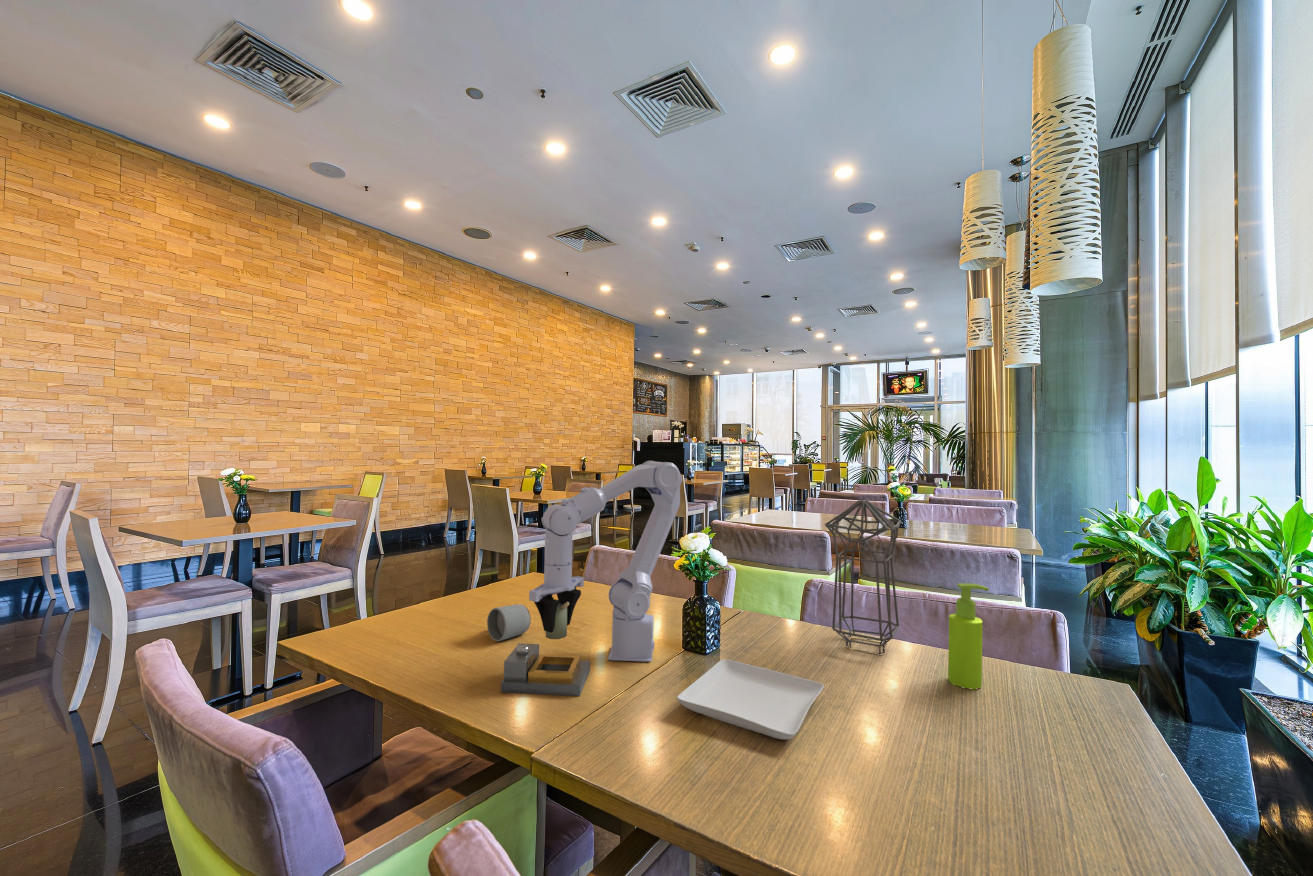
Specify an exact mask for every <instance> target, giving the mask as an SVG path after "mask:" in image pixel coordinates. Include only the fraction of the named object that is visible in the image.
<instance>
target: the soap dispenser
mask: <svg viewBox="0 0 1313 876" xmlns="http://www.w3.org/2000/svg"><path fill="white" fill-rule="evenodd" d="M956 586H957V588H959V589H960V597H959V598H957V599H956V603H955V605H956V606H955V613H952V614H949V615H948V658H947V661H948V666H947V680H948V679H949V680H948V682H949V681H950V682H951V683H950V682H949V683H950V684H952V683H953V684H955V685H954V686H956V685H957V686H956V687H958V686H961V687H964V688H963V689H965V688H972V689H971V690H977V689H976V688H980V687H981V686H982V682H983V681H982V680H983V624H984V623H983V620H982V618H979V617H977V616H976V605H977V604H976V601H975V600H974V599H972V596H971V595H972V590H981V591H985V592H989V591H990V588H988V587H986V586H985V585H981V584H978V583H969V582H968V583H964V582H963V583H962V582H961V583H959V582H958V583H957V584H956ZM953 684H952V685H953ZM961 687H960V688H961ZM982 687H983V686H982ZM982 687H981V688H982ZM981 688H980V689H981Z"/></svg>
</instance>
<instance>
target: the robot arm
mask: <svg viewBox="0 0 1313 876" xmlns="http://www.w3.org/2000/svg"><path fill="white" fill-rule="evenodd" d="M682 483H683V476H682V474H681V472H680V470H679V467H677V465H676V464H674V463H673V462H667V461H664V462H663V461H655V460H647V461H645V462H643V463H642V464H638V465H636V466H634V467H633V468H631V469H629V470H628V471H626V472H625V473H622V474H621V475H620V476H618V477H616V478H614V479H613V480H611V481H610V482H608V483H607V484H605V485H603V486H601V487H600V488H596V487H593V486H590V487H586V486H584V487H583V488H581V489H580V492H579V493H577V494H576V495H574V496H572V497H570V498H568V499H567V498H564V499H562V500H561V501H560V502H561V504H552V505H550V506H549V507H547V508H546V509H545V511H544V512H543V515H542V517H541V523H542V525H543V527H544V528H545V536H544V537H545V540H544V562H543V563H544V564H543V565H544V566H543V567H544V569H543V570H544V571H543V574H544V575H543V583H542V584H540V585H538V586H537V587H535V588H534V589H530V590H529V591H528V598H529V599H528V601H529V602H533V604H534V605H535V607H536V608H537V611H538V613H539V616H540V619H541V623H542V627H543V631H544V632H546V631H547V632H550V633H551V632H553V631H554V626H555V615H556V610H557V607H558V604H565V603H566V602H569V605H568V606H567V627H568V626H570V624H571V621H572V617H573V613H574V611H575V608H576V605H577V603H578V602H579V601H578V600H579V599H580V597H581V595H582V591H581V590H580V589H577V588H583V587H584V586H585V585H584V583H585V582H584V581H585V580H584V579H585V578H584V577H583V576H578V575H576V576H573V573H572V572H573V543H574V542H573V541H574V540H573V532H574V531H575V530H576V528H577V526H578V525H580V524H581V523H583V522H585V521H586V520H588V519H591V518H593V517H594V516H596V515H597V514H599V513H601V512H602V511H604V510H605V507H606V503H608V502H609V501H612V500H613V499H615V498H617V497H619V496H621V495H623V494H626V492H629V491H631V490H634V489H635V488H644V489H646V491H648V493H649V494H650V497H651V499H652V501H653V503H654V506H653V508H652V511H651V513H650V515H649V518H648V520H647V523H646V525H645V527H644V529H643V532H642V534H641V537H640V539H639V542H638V544H637V546H636V549H635V550H634V553H633V556H632V559H631V561H630V563H629V565H628V567H627V568H626V569H624V570H623V571H622V572H621V573H620V574H619V577H618V578H617V580H616V581H615V582H614V583H613V584H612V585H611V586H610V587H609V590H608V595H607V596H608V600H609V602H610V605H612V607H613V608H612V621H611V622H612V623H611V624H612V628H611V629H612V631H611V633H612V634H611V648H610V651H609V654H608V656H607V660H608V661H619V662H620V661H622V662H624V661H625V662H626V661H627V662H648V663H650V662H652V660H653V652H654V650H655V640H654V623H655V621H654V615H652V614H647V612H648V610H649V609H650V605H651V594H652V591H653V584H652V579H651V576H652V574H653V572H654V569H655V567H656V565H657V561H658V559H659V557H660V555H661V552H662V549H663V547H664V545H665V544H666V543H665V542H666V539H667V538H668V535H669V533H670V530H671V527H672V526H673V523H674V520H675V517H676V515H677V513H678V510H679V508H680V504H681V484H682ZM554 595H556V596H557V599H555V598H554V597H553V596H554Z"/></svg>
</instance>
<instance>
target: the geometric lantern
mask: <svg viewBox="0 0 1313 876" xmlns="http://www.w3.org/2000/svg"><path fill="white" fill-rule="evenodd" d="M855 509H856V511H855V513H854V515H853V517H847V516H848V515H850V514H851V513H852V512H853V511H854V510H855ZM860 510H861V515H860V516H861V517H860V518H859V519H858V518H857V516H858V514H859V512H860ZM867 510H869V512H870V513H871V515H872V517H873V518H874V520H868V514H867ZM886 516H887V517H886ZM888 517H889V518H891V519H889V518H888ZM842 520H843V521H844V520H845V521H846V522H847V523H849V526H848V527H847V526H843V525H840V522H841V521H842ZM855 522H859V523H860V525H857V524H856V523H855ZM895 522H896V524H894V523H895ZM902 522H903V521H902V520H901V519H899V518H897V517H895V516H893V514H890V513H889V512H887V511H885V510H884V509H882V508H880V507H879V506H877V505H876V504H873V503H872V502H870V501H869V500H866V499H858V500H857V501H856V502H854V503H853V504H852V505H850V507H848V508H847V509H846V510H844V511H842V512H841V513H839V514H837V515H836V516H835V517H833V518H832V519H830V520H829V521H828V522H827V521H826V523H824V526H825V527H826V529H827V530H828V531H829V532H830V533H831V534H832V536H833V538H832V539H833V544H834V549H835V555H836V556H835V569H834V570H835V571H834V573H835V574H834V587H833V588H834V592H833V606H832V607H833V608H832V609H833V611H832V625H831V626H832V627H831V629H832V631H834V632H836V633H837V634H838V635H839V636H840V637H842V638H843V639H844V640H845V644H846V645H845V647H846V646H848V647H850V648H852V643H856V644H862V645H868V646H874V647H878V652H874V651H872V652H873V653H877V654H882V653H885V654H886V652H885V649H884V648H885V644H886V645H887V646H888V643H889V641H891V640H893V638H894V636H895V635H896V633H897V631H898V629H899V628H900V623H899V614H898V602H897V595H896V594H897V592H896V584H895V583H896V582H895V573H894V572H895V571H894V562H893V554H894V551H895V550H894V549H895V545H896V541H897V538H898V536H899V529H900V525H901V523H902ZM864 523H865V526H864ZM868 524H877V525H876V528H868ZM879 525H881V528H880V527H879ZM853 526H854V527H856V528H852V527H853ZM864 527H865V528H864ZM839 529H841V530H842V529H843V530H846V531H847V535H848V537H847V536H846V535H845V534H843V533H842V532H841V531H839ZM850 531H857V532H859V533H860V535H859V537H858V539H851V533H850ZM886 531H890V539H889V540H890V542H889V544H888V547H887V548H886V546H885V544H884V543H883V541H882V539H881V537H880V536H879V535H881V534H882V533H885V532H886ZM865 533H866V534H871V535H869V536H866V537H865V538H864V534H865ZM836 536H839V538H840V540H841V542H842V545H843V546H844V549H843V550H842V551H841V552H838V545H837V538H836ZM874 537H877V538H878V540H879V542H880V543H881V546H882V547H883V548H884V550H885V551H880V550H879V551H877V550H872V549H871V548H870V545H868V543H867V541H868V540H870V539H872V538H874ZM843 539H845V540H846V541H848V543H847V545H846V544H845V541H844V540H843ZM852 543H855V544H854V545H853V547H852V548H850V549H848V547H849V546H850V544H852ZM859 543H863V544H864V546H865V547H866V548H867V550H865V549H856V547H857V546H858V544H859ZM890 548H891V551H890V553H889V550H890ZM849 552H850V553H851V557H848V556H847V555H848V553H849ZM855 552H860V553H862V552H863V553H870V554H871V555H872V557H873V559H874V560H873V559H861V558H854V557H855ZM874 553H876V554H885V555H884V557H883V559H882V560H879V559H878V558H877V556H876V555H875V554H874ZM842 556H844V557H842ZM842 560H843V562H844V563H843V579H842ZM848 560H849V561H851V564H850V565H851V571H850V572H851V574H850V575H851V577H850V579H851V581H850V586H851V587H850V589H851V590H850V615H845V606H846V605H845V603H846V602H845V601H846V581H847V561H848ZM855 561H860V562H865V563H866V562H868V563H875V577H876V578H875V579H876V594H877V595H876V596H877V597H876V598H877V609H878V610H877V611H878V612H877V613H878V619H877V618H871V617H865V616H864V617H863V616H856V615H854V583H855V582H854V580H855V579H854V578H855V577H854V574H855V573H854V572H855V571H854V570H855V568H854V567H855ZM879 564H882V565H883V566H882V567H883V575H884V586H885V599H886V611H887V619H888V620H884V619H882V611H881V610H882V609H881V606H882V605H881V596H880V595H881V594H880V593H881V592H880V591H881V589H880V577H879V576H880V575H879ZM890 572H891V573H890ZM890 574H891V575H890ZM890 576H891V577H890ZM890 578H891V579H890ZM842 580H843V581H842ZM890 582H891V583H890ZM842 583H843V585H842ZM891 584H892V593H893V603H894V612H895V613H894V614H895V622H893V621H892V618H891V616H892V614H891V611H892V610H891V609H892V607H891ZM837 589H838V590H837ZM837 593H838V621H837V622H836V612H837V611H836V608H837ZM846 619H850V620H851V626H852V627H850V626H849V623H848V622H847V621H846ZM854 619H857V620H864V621H870V622H876V623H877V622H878V625H879V626H878V628H879V631H878V632H877V631H876V632H875V631H867V630H858V629H855V625H854ZM842 621H844V623H845V625H846V627H847V629H848V630H849V631H843V626H842V625H843V623H842ZM882 623H885V624H887V625H886V626H885V628H884V629H883V627H882V626H883V625H882ZM838 626H839V627H838ZM892 626H894V628H892ZM837 627H838V628H839V629H837ZM851 628H852V629H851ZM887 629H888V630H889V631H888V632H887ZM856 632H858V633H856ZM886 632H887V633H886ZM859 633H864V634H859ZM866 633H867V634H874V635H879V637H874V636H871V635H870V636H869V635H865V634H866ZM885 633H886V634H885ZM853 636H855V637H859V638H865V639H867V640H876V641H881V642H880V643H879V644H876V643H870V642H864V641H858V640H853V639H851V640H849V639H850V637H853ZM867 640H866V641H867ZM848 642H849V645H848ZM882 642H883V643H882ZM881 649H882V650H881ZM867 651H868V652H869V650H867ZM877 654H876V655H877Z"/></svg>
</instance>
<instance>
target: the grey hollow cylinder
mask: <svg viewBox="0 0 1313 876" xmlns="http://www.w3.org/2000/svg"><path fill="white" fill-rule="evenodd" d="M531 619H532V618H531V613H530V611H529V609H528V607H527V606H525V605H524V604H520V603H518V604H517V603H515V604H512V605H505V606H500V607H499V606H498V607H493V608H492V609H491V610H490V611H489V612H488V615H487V620H486V625H487V632H488V635H489V636H490V638H491V640H493V641H495V642H501V641H504V640H509V639H511V638H514V637H518V636H521V635H524V633H526V632H527V631H528V630H529V629H530V626H531V623H532V621H531Z"/></svg>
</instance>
